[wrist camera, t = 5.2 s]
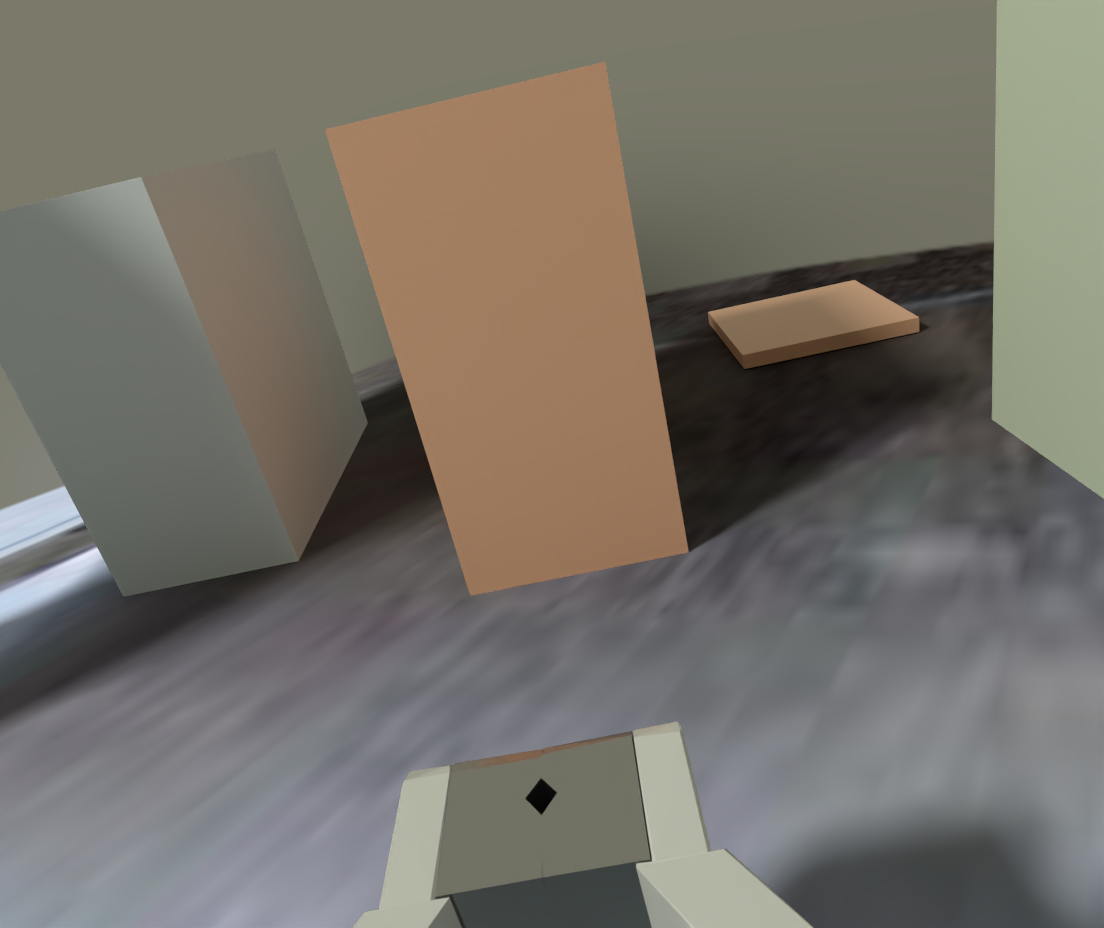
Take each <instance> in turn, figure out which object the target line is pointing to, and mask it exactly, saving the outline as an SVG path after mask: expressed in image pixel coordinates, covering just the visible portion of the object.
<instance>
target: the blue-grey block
mask: <svg viewBox="0 0 1104 928" xmlns="http://www.w3.org/2000/svg"><path fill="white" fill-rule="evenodd" d="M0 364H1V366H2V368H3V370H4V372H5V373H6V376H7V377H8V379H9V381H10V383H11V385H12V387H13V389H14V391H15V393H16V394H17V396H18V398H19V400H20V402H21V404H22V406H23V408H24V409H25V411H26V413H27V415H28V417H29V419H30V421H31V423H32V424H33V427H34V428H35V430H36V432H37V434H38V436H39V438H40V440H41V442H42V444H43V446H44V447H45V449H46V451H47V453H48V455H49V457H50V459H51V460H52V462H53V464H54V466H55V468H56V470H57V472H58V474H59V476H60V478H61V479H62V481H63V483H64V485H65V487H66V489H67V491H68V493H69V495H70V497H71V498H72V500H73V502H74V504H75V506H76V508H77V510H78V512H79V514H80V516H81V517H82V519H83V521H84V523H85V525H86V527H87V529H88V531H89V533H90V534H91V536H92V538H93V540H94V542H95V544H96V546H97V548H98V550H99V551H100V553H101V555H102V557H103V559H104V561H105V563H106V565H107V567H108V568H109V570H110V572H111V574H112V576H113V578H114V580H115V582H116V584H117V585H118V587H119V589H120V591H121V593H122V595H123V597H125V596H130V595H135V594H140V593H145V592H149V591H154V590H159V589H164V588H169V587H174V586H179V585H184V584H189V583H193V582H198V581H203V580H208V579H213V578H218V577H223V576H228V575H233V574H237V573H242V572H247V571H252V570H257V569H262V568H267V567H272V566H277V565H281V564H286V563H291V562H296V561H299V559H300V557H301V555H302V553H303V551H304V549H305V547H306V545H307V543H308V541H309V539H310V537H311V535H312V533H313V531H314V529H315V527H316V525H317V523H318V521H319V519H320V517H321V515H322V513H323V511H324V509H325V507H326V505H327V503H328V501H329V499H330V497H331V495H332V493H333V491H334V489H335V487H336V485H337V483H338V481H339V479H340V477H341V475H342V473H343V471H344V469H345V467H346V465H347V463H348V461H349V459H350V457H351V455H352V453H353V451H354V449H355V447H356V445H357V443H358V441H359V439H360V437H361V435H362V433H363V431H364V429H365V427H366V425H367V423H368V422H367V419H366V416H365V413H364V410H363V407H362V404H361V401H360V398H359V395H358V392H357V389H356V387H355V384H354V381H353V378H352V375H351V372H350V369H349V366H348V363H347V360H346V357H345V354H344V351H343V348H342V345H341V342H340V339H339V336H338V334H337V331H336V328H335V325H334V322H333V319H332V316H331V313H330V310H329V307H328V304H327V301H326V298H325V295H324V292H323V289H322V286H321V283H320V280H319V278H318V275H317V272H316V269H315V266H314V263H313V260H312V257H311V254H310V251H309V248H308V245H307V242H306V239H305V236H304V233H303V230H302V227H301V224H300V221H299V219H298V216H297V213H296V210H295V207H294V204H293V201H292V198H291V195H290V192H289V189H288V186H287V183H286V180H285V177H284V175H283V172H282V169H281V165H280V163H279V160H278V157H277V154H276V151H275V149H273V150H268V151H264V152H259V153H254V154H249V155H245V156H240V157H235V158H230V159H225V160H221V161H216V162H211V163H206V164H201V165H197V166H192V167H187V168H182V169H178V170H173V171H168V172H163V173H158V174H153V175H149V176H144V177H139V178H135V179H131V180H127V181H123V182H119V183H114V184H110V185H106V186H102V187H98V188H94V189H90V190H86V191H81V192H78V193H74V194H69V195H65V196H61V197H57V198H53V199H48V200H44V201H40V202H37V203H32V204H28V205H24V206H20V207H16V208H11V209H7V210H3V211H0Z"/></svg>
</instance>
